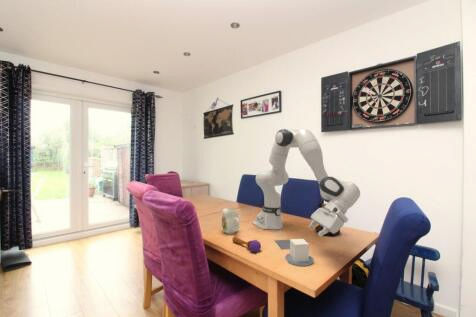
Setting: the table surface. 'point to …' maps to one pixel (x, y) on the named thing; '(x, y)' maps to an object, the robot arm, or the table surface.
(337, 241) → the table surface
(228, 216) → the pitcher
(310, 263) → the pot lid
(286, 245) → the mat
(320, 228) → the wooden spool stand
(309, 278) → the table surface
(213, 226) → the table surface
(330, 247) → the table surface
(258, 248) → the kendama
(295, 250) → the cover
